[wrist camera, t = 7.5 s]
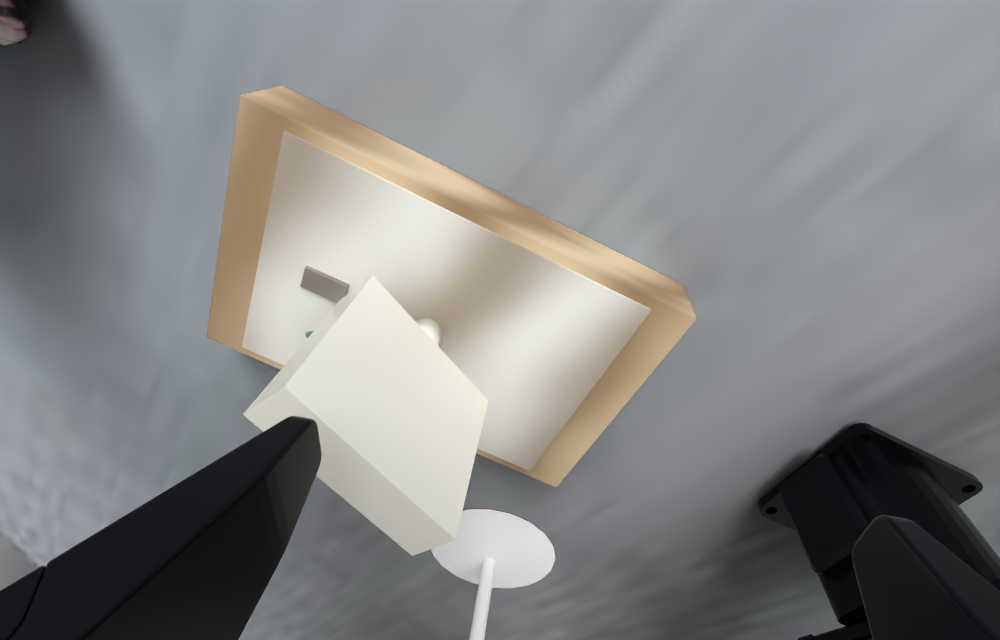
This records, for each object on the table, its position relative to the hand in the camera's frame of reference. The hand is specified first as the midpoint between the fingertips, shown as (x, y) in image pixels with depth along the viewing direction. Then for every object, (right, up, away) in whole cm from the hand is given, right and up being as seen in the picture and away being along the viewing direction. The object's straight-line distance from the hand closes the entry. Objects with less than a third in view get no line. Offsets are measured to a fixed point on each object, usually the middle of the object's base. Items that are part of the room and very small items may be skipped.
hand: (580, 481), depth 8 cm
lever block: (-4, +4, +12) cm, 13 cm away
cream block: (-6, +1, +11) cm, 12 cm away
